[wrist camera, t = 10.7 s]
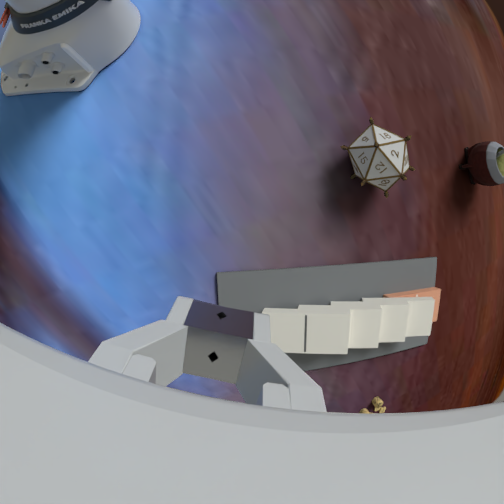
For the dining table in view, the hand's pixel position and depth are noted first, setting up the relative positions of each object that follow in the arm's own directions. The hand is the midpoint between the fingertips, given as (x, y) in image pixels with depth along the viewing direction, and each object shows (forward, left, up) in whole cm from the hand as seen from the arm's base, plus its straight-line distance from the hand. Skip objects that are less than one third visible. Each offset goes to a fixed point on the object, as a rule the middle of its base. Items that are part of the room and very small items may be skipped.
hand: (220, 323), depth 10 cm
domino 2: (+10, -10, -23) cm, 27 cm away
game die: (+20, +10, -25) cm, 33 cm away
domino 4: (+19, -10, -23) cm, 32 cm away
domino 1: (+6, -10, -23) cm, 26 cm away
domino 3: (+14, -10, -23) cm, 29 cm away
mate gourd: (+42, +12, -25) cm, 50 cm away
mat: (+17, -10, -25) cm, 31 cm away
